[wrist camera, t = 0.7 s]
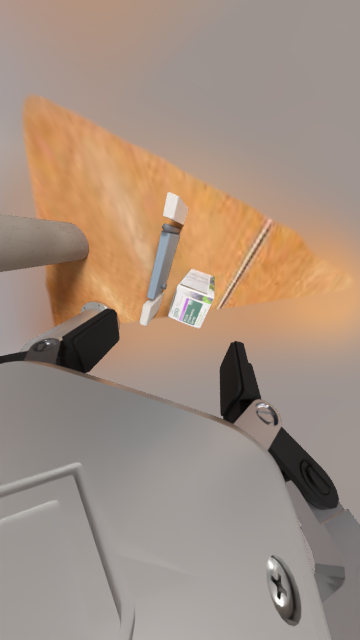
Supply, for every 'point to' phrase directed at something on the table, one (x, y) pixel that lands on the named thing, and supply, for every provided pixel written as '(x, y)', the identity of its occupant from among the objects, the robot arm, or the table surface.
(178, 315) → the syrup box
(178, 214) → the wall
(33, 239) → the thermos bottle
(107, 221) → the table surface
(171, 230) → the door
